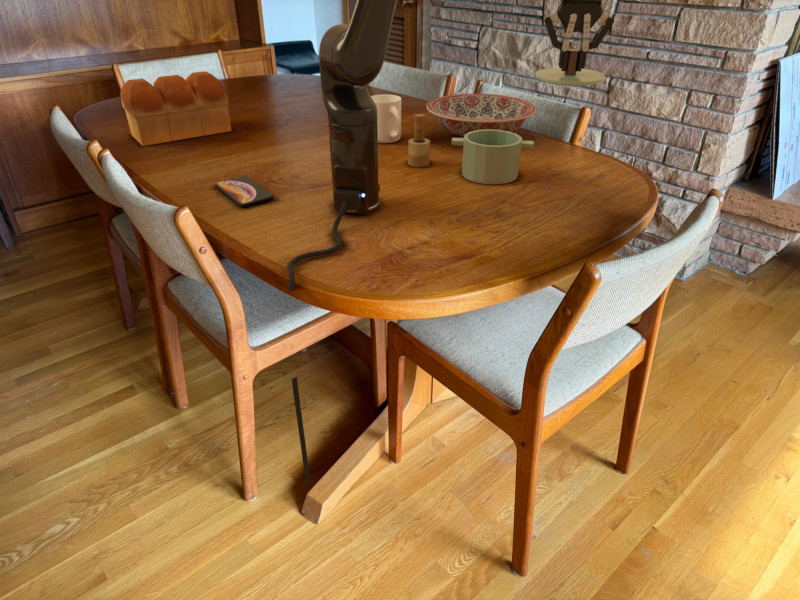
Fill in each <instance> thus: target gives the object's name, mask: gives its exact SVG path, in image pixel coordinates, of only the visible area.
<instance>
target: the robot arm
mask: <svg viewBox="0 0 800 600" xmlns="http://www.w3.org/2000/svg"><path fill="white" fill-rule="evenodd" d="M602 3H603V0H560V4H559V6H558V8H557V9H556V11H555V12H554V13H551V14H549V15H545V16H544V17H543V22H544V25H545V28H546V30H547V33H548V38H549V40H550V42H551V45H552V46H553V48H555V49H558V50H559V57H558V64H557V65H558V68H561V71H566V65H567V58H568V51H567V50H568V49H569V47H570V43H571V39H572V35H573V33H580V48H579V50H580V53H579V59H578V66H577V72H581V69H585V67H586V63H587V56H588V52H589V51H590V50H593V49H597V48H598V47H599V45H601V42H602V41H603V39H604V38H605V37H606V35H607V34H608V32H609V31H610V29H611V27H612V26H613V24H614V23H615V18H614V17H612V16H610V15H607V14H606V13H604V9H603V7H602V5H603V4H602ZM397 4H398V0H356V1H355V3H354V8H353V12H352V15H351V17H350V20H349V23H348V24H347V23H339V24H335V25H332V26H330V27H329V28H328V29H327V30H326V31H325V32H324V33H323V35H322V37H321V39H320V42H319V43H320V44H319V48H318V65H319V74H320V76H319V77H320V85H321V93H322V100H323V104H324V106H325V109H326V112H327V119H328V120H327V121H328V136H329V139H328V140H329V150H330V151H329V152H330V155H329V156H330V166H331V167H330V168H331V169H330V170H331V183H332V184H331V185H332V197H333V198H332V199H333V200H332V204H333V205H332V206H333V209H335V211H336V213H337V215H336V217H335V220H334V222H333V224H332V228H331V235H332V237H333V239H334V240H335V242H336V245H334V246H332V247H330V248H329V247H328V248H325V249H321V250H315V251H309V252H304V253H302V254H299V255H296V256H295V257H293V258H292V259H291V260H290V261H289V262H288V264H287V266H286V268H287V269H286V270H287V273H288V285H287V286H288V288H287V290H288V292H293V291H294V290H295V287H296V286H295V283H296V274H295V269H294V266H295V265H296V264H297V263H299V262H300V261H304V260H306V259H311V258H315V257H316V258H317V257H321V256H326V255H330V254H333V253H336V252H338V251H339V250H341V248H342V247H343V244H344V242H343V240H342V238H341V237H340V236H339V235H338V229H339V225H340V223H341V220H342V218H343V216H344V214H353V215H368V214H369V213H370V212H373V211H375V210H377V209H378V208H379V207H380V198H379V197H380V192H381V185H380V182H379V143H378V124H377V106H376V104H375V102H374V101H373V99H372V98H371V96H372V95H371V94H370V91H369V88H368V85H369V84H371V83H372V82H373V81H374V80H376V78H377V77H378V75H379V74H380V72H381V71H382V69H383V65H384V63H385V59H386V56H387V51H388V44H389V41H390V36H391V31H392V25H393V21H394V16H395V11H396V8H397ZM558 19H559V22H560V24H561V25H562V27H563V28H564V29H563V32H562V38H561V41H560V40H559V38H558V35H557V32H556V30H555V27H556V26H557V24H558V23H557V20H558ZM598 20H599V24H598V25H599V28H598V29H597V31H596V32H595V34H594V36H593V38H592V39H591V40H590V36H591V35H590V34H591V29H592V28H593V27H594V25H595V24H596V23H597V22H598ZM291 385H292V393H293V400H294V408H295V416H296V422H297V430H298V435H299V436H298V437H299V443H300V450H301V457H302V458H301V459H302V466H303V473H304V481H305V483H304V484H305V485H306V486H310V485H311V475H310V466H309V459H308V452H307V445H306V437H305V428H304V422H303V421H304V420H303V415H302V407H301V400H300V392H299V391H300V390H299V382H298V376H295V377H292V378H291Z"/></svg>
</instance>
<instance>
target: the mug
mask: <svg viewBox="0 0 800 600" xmlns="http://www.w3.org/2000/svg"><path fill="white" fill-rule="evenodd" d="M370 96H371V98H372V99H373V101H374V102H375V104H376V106H377V124H378V144H392V143H396V142H398V141H400V139H401V137H402V97H401V96H399V95H397V94H396V95H395V94H374V95H370Z"/></svg>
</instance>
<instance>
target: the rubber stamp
mask: <svg viewBox="0 0 800 600" xmlns="http://www.w3.org/2000/svg"><path fill="white" fill-rule="evenodd" d="M413 122H414V126H413V130H414V132H413V138H410V139H408V141H407V165H408V166H411V167H414V168H425V167H427V166H430V163H431V162H430V159H431V140H430V139H429V138H426V137H425V135H426V134H425V133H426V132H425V131H426V127H425V126H426V115H425V114H423V113H416V114H414V121H413Z"/></svg>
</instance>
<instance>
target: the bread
mask: <svg viewBox="0 0 800 600" xmlns="http://www.w3.org/2000/svg"><path fill="white" fill-rule="evenodd" d="M119 93H120V94H119V95H120V101H121V106H122V108H123V109H124V111H125V115H126V119H127V123H128V127H129V131H130V135H131V136H132V137H133V138H134V139H135V140H136V141H137V142H138V143H139V144H140V145H141V146H142V147H145V146H151V145H157V144H163V143H169V142H175V141H181V140H187V139H193V138H198V137H204V136H209V135H211V136H212V135H216V134H221V133H227V132H232V126H231V118H230V112H229V104H230V101H229V97H228V93H227V90H226V88H225V86H224V85H223V84H222V82H221V81H220V79H218V78H217V77H216V76H215V75H213V74H212V73H210V72H208V71H196V72H195V71H194V72H191V73H190V74H189V75H188V76H187V77H186V78H184V77H183V76H181V75H179V74H172V75H162V76H158V77H157V78H156V79H155V80H154V82H153V84H151V83H150V81H148V80H146V79H144V78H143V77H142V78H135V79H128V80H127V81H125V82H124V84H123V85H122V86H121V89H120V92H119Z"/></svg>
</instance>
